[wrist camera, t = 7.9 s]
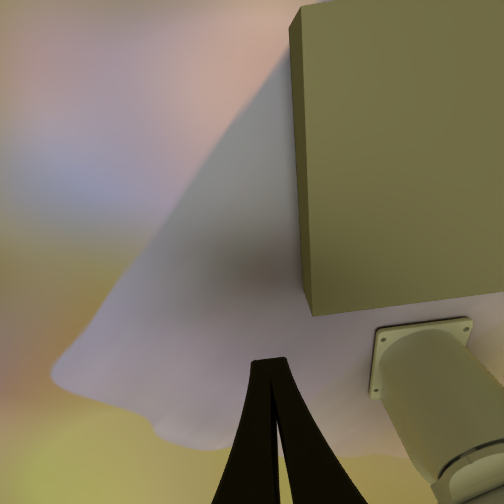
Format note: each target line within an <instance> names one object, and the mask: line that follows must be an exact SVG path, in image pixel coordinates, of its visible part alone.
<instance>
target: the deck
mask: <svg viewBox="0 0 504 504" xmlns="http://www.w3.org/2000/svg"><path fill="white" fill-rule="evenodd" d="M289 43H290V61H291V79H292V97H293V115H294V132H295V150H296V168H297V186H298V204H299V221H300V239H301V257H302V275H303V290H304V293H305V296H306V299H307V302H308V305H309V308H310V310H311V313H312V316H321V315H329V314H336V313H344V312H351V311H359V310H367V309H374V308H382V307H389V306H397V305H405V304H412V303H420V302H427V301H435V300H443V299H450V298H458V297H466V296H473V295H481V294H488V293H496V292H504V0H335V1H329V2H323V3H317V4H312V5H306V6H301V7H300V9H299V11H298V13H297V14H296V16H295V18H294V19H293V21H292V23H291V25H290V27H289Z"/></svg>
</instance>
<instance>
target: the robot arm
mask: <svg viewBox="0 0 504 504" xmlns="http://www.w3.org/2000/svg"><path fill="white" fill-rule="evenodd" d="M472 326H473V321H472V320H471V319H470V318H460V319H452V320H444V321H437V322H429V323H421V324H413V325H405V326H398V327H390V328H382V329H379V330H378V331H377V333H376V339H375V348H374V356H373V364H372V373H371V381H370V389H369V396H370V398H371V399H381V400H382V402H383V404H384V406H385V408H386V410H387V412H388V414H389V416H390V419H391V421H392V423H393V425H394V427H395V429H396V431H397V433H398V435H399V437H400V439H401V441H402V443H403V445H404V447H405V449H406V451H407V453H408V456H409V458H410V460H411V461H412V463H413V465H414V466H415V468H416V469H417V471H418V472H419V473H420V474H421V476H422V477H423V478H424V479H425V480H426V481H427V482H428V483H430V484H431V489H432V491H433V493H434V495H435V497H436V499H437V501H438V504H504V387H503V386H502V385H501V384H500V383H499V382H498V381H497V380H496V378H495V377H494V376H493V375H492V374H491V373H490V372H489V371H488V370H487V369H486V368H485V367H484V366H483V365H482V364H481V363H480V362H479V361H478V360H477V359H476V357H475V356H474V355H473V354H472V353H471V352H470V351H469V350H468V349H467V348H466V347H465V346H466V343H467V340H468V338H469V335H470V332H471V329H472ZM277 424H278V429H279V434H280V439H281V444H282V449H283V453H284V458H285V463H286V468H287V473H288V478H289V483H290V488H291V494H292V500H293V504H368V503H367V502H366V500H365V499H364V498H363V496H362V495H361V494H360V492H359V491H358V489H357V488H356V486H355V485H354V483H353V482H352V481H351V479H350V478H349V476H348V475H347V473H346V472H345V470H344V469H343V467H342V466H341V464H340V463H339V461H338V459H337V458H336V456H335V455H334V453H333V451H332V450H331V448H330V447H329V445H328V443H327V442H326V440H325V438H324V437H323V435H322V433H321V432H320V430H319V428H318V426H317V425H316V423H315V421H314V419H313V417H312V416H311V414H310V412H309V410H308V408H307V406H306V404H305V402H304V400H303V398H302V396H301V394H300V392H299V390H298V388H297V385H296V383H295V381H294V378H293V376H292V373H291V371H290V368H289V365H288V362H287V358H285V357H278V358H270V359H262V360H253V361H252V362H251V369H250V377H249V384H248V389H247V394H246V399H245V403H244V407H243V411H242V415H241V419H240V423H239V426H238V429H237V433H236V436H235V439H234V443H233V446H232V449H231V452H230V455H229V458H228V461H227V464H226V467H225V469H224V472H223V475H222V478H221V480H220V483H219V486H218V488H217V491H216V493H215V496H214V498H213V501H212V503H211V504H280V490H279V466H278V442H277Z"/></svg>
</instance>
